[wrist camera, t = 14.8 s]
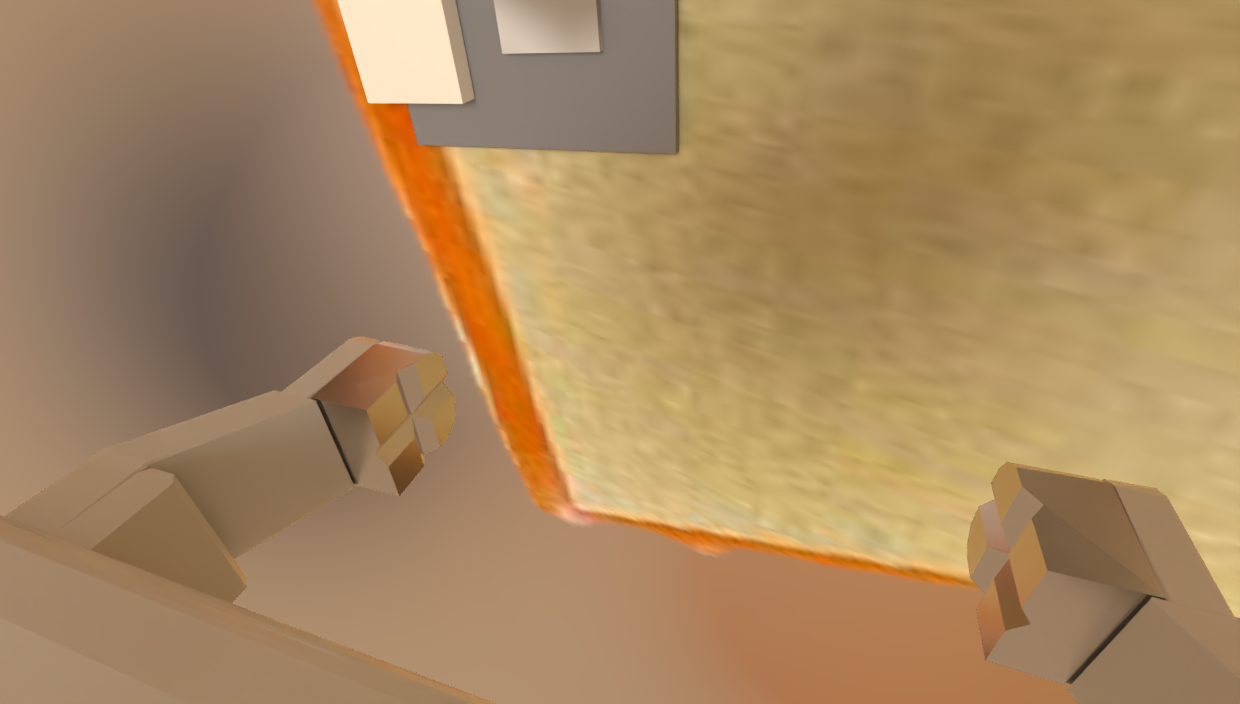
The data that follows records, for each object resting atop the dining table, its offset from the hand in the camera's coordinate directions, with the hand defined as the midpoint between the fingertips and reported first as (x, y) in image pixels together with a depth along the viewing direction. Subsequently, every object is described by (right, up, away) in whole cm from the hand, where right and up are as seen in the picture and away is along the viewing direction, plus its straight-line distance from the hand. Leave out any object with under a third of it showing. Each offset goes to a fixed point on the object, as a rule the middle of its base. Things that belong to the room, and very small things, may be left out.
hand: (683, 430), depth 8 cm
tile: (-10, +19, +25) cm, 33 cm away
